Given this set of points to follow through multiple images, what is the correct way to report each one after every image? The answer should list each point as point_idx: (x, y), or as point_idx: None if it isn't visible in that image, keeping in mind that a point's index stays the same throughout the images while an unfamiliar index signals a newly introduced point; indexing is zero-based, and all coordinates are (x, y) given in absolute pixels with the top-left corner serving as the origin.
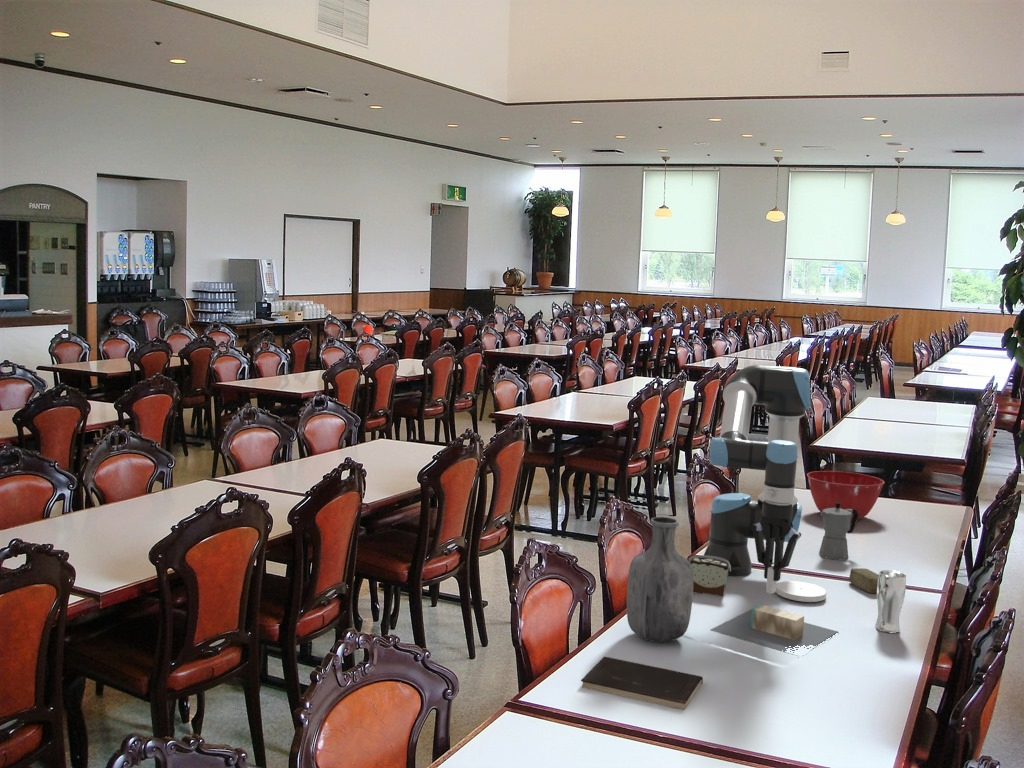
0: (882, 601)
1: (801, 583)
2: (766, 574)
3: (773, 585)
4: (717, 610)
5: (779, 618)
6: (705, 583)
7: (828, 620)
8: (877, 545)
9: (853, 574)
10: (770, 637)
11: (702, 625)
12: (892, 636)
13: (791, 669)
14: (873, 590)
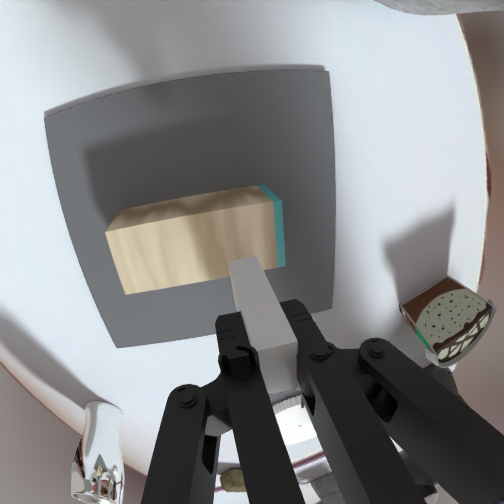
0: (92, 448)
1: (310, 435)
2: (294, 316)
3: (236, 297)
4: (386, 235)
5: (166, 216)
6: (442, 300)
7: (185, 383)
8: (304, 499)
9: None
10: (174, 163)
11: (364, 104)
12: (75, 395)
13: (27, 46)
14: (228, 473)
